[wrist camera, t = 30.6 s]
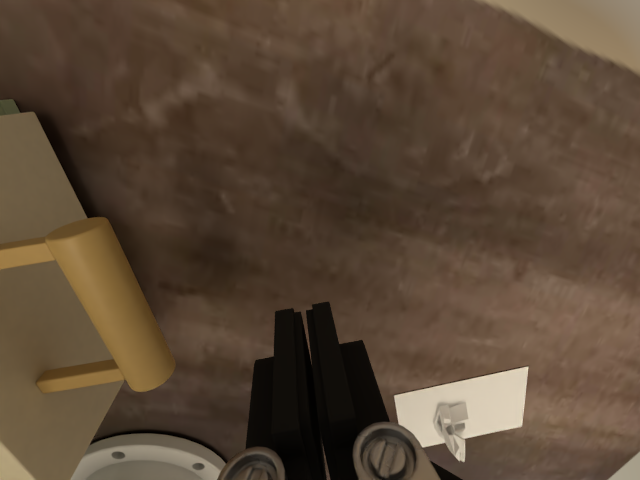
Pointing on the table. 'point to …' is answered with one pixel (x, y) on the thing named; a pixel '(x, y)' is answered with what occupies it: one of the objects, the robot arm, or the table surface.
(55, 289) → the drawer
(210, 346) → the table surface
